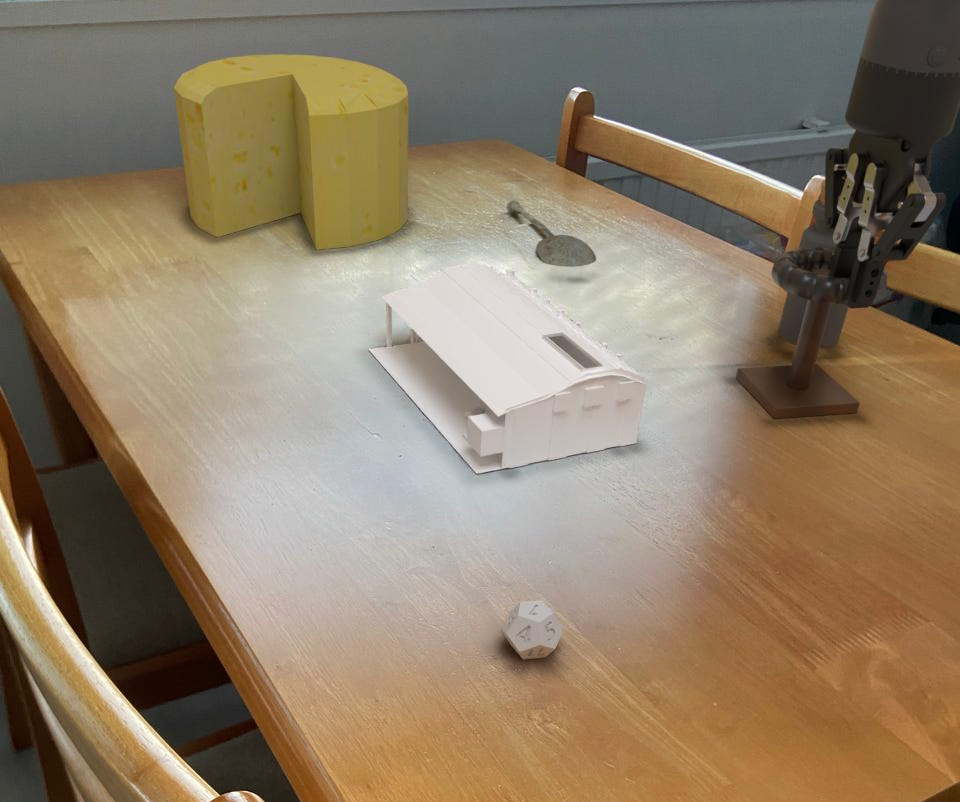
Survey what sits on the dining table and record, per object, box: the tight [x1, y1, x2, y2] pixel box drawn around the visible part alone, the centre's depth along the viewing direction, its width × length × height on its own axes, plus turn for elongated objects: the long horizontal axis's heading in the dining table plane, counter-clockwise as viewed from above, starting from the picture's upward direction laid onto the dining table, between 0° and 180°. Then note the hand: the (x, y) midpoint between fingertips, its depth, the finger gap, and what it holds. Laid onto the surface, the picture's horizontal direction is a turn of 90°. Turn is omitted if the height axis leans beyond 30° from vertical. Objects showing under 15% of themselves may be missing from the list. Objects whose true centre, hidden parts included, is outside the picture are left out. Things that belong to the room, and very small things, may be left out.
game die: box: [501, 599, 564, 660], centre depth 61 cm, size 4×4×3 cm
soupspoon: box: [506, 199, 597, 268], centre depth 118 cm, size 22×3×7 cm
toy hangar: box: [368, 261, 647, 475], centre depth 86 cm, size 25×15×7 cm, turn 25°
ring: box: [771, 247, 888, 304], centre depth 84 cm, size 9×9×2 cm
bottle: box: [777, 178, 849, 350], centre depth 95 cm, size 6×6×15 cm
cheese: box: [173, 53, 409, 251], centre depth 118 cm, size 26×26×15 cm
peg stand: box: [735, 269, 860, 419], centre depth 87 cm, size 8×8×11 cm
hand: (847, 298), depth 81 cm, fingers closed on ring, 2 cm apart
